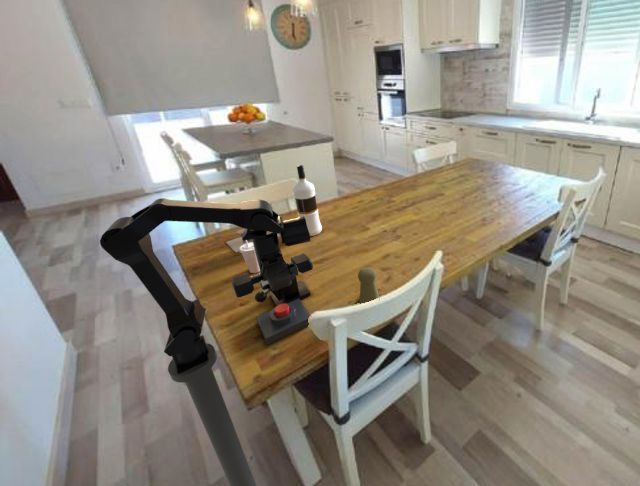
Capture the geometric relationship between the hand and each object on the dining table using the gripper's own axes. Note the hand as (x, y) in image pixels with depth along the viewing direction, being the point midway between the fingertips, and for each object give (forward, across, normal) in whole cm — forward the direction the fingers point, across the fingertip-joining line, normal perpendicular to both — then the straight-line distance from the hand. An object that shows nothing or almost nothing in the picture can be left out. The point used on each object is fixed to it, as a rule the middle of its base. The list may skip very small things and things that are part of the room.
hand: (280, 299), depth 86 cm
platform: (+8, +5, +58) cm, 59 cm away
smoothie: (+8, 0, +33) cm, 34 cm away
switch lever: (+4, +2, +11) cm, 12 cm away
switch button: (+5, 0, 0) cm, 5 cm away
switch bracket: (+8, +5, +11) cm, 15 cm away
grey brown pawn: (+8, +23, -7) cm, 25 cm away
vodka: (+8, +26, +48) cm, 55 cm away
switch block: (+8, 0, 0) cm, 8 cm away
